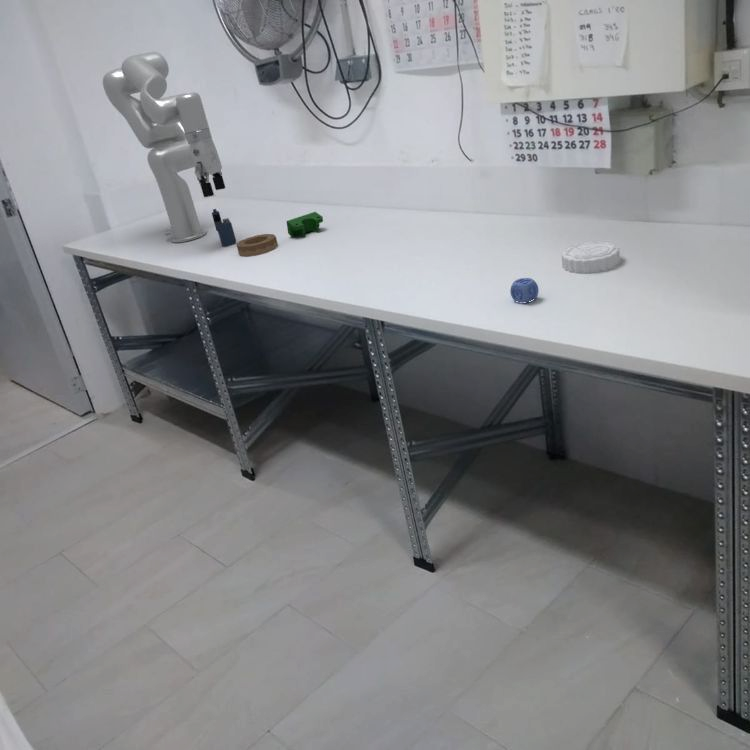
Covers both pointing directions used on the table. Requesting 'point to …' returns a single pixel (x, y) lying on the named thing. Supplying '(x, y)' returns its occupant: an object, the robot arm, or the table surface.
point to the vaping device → (224, 229)
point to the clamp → (304, 224)
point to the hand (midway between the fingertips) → (215, 192)
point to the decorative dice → (524, 290)
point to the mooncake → (590, 257)
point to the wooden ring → (257, 245)
